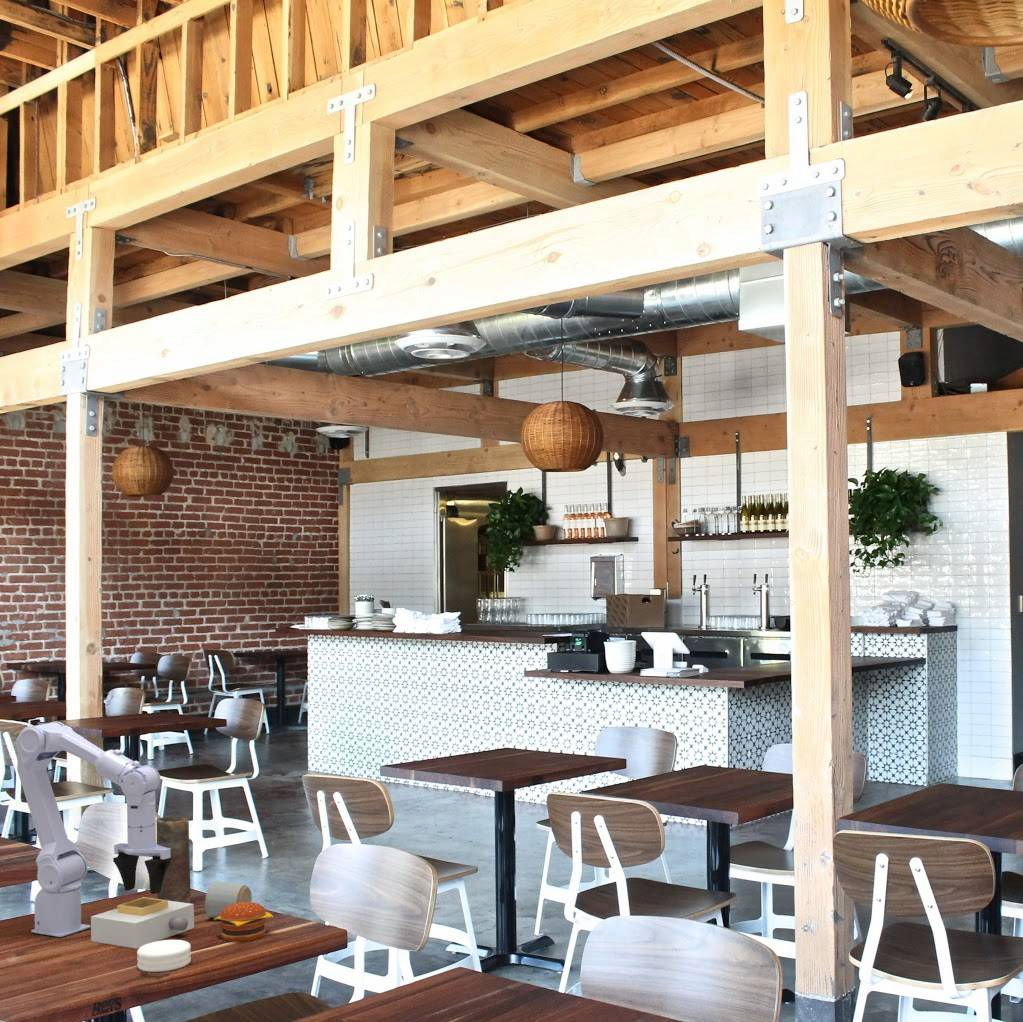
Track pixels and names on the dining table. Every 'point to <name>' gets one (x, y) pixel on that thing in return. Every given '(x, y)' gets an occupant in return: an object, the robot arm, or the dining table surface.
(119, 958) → the dining table surface
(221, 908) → the ceramic mug
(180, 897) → the brown paper bag
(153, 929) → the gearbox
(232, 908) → the hamburger
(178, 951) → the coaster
